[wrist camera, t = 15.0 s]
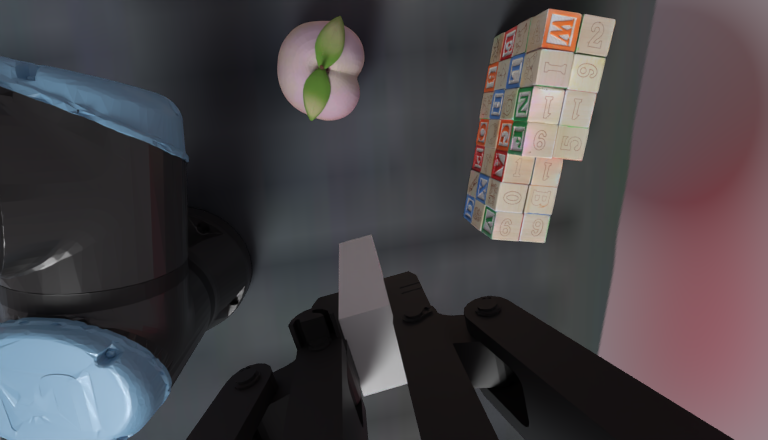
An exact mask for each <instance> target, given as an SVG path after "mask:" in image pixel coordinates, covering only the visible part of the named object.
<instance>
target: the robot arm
mask: <svg viewBox="0 0 768 440" xmlns="http://www.w3.org/2000/svg"><path fill="white" fill-rule="evenodd" d="M186 162H189V157H188V155H187V154H186V153H185V141H184V129H183V118H182V115H181V112H180V111H179V109H178V107H177V106H176V105H175V104H174V103H173V102H172V101H171V100H169V99H168V98H166V97H165V96H163V95H160V94H158V93H155V92H152V91H149V90H145V89H142V88H138V87H135V86H131V85H127V84H124V83H120V82H116V81H112V80H108V79H104V78H100V77H95V76H91V75H87V74H82V73H78V72H74V71H69V70H65V69H60V68H55V67H50V66H45V65H36V64H34V63H29V62H24V61H18V60H14V59H11V58H7V57H2V56H0V437H3V438H5V439H8V440H127V439H128V438H129V437H131V436H133V435H134V434H135V433H137V432H138V431H139V430H140V429H141V428H142V427H143V426H144V425H145V424H146V423H147V422H148V421H149V419H150V418H151V417H152V416H153V415H154V413H155V412H156V411H157V410H158V408H159V407H160V406H161V405H162V404H163V403H164V402H165V400H166V399H167V397H168V396H169V393H170V392H171V388H172V386H173V384H174V383H175V381H176V379H177V378H178V376H179V374H180V373H181V371H182V369H183V368H184V366H185V365H186V363H187V361H188V360H189V358H190V356H191V355H192V353H193V351H194V350H195V348H196V346H197V345H198V343H199V341H200V340H201V338H202V337H203V335H204V333H205V332H206V331H207V330H209V329H211V328H212V327H214V326H216V325H218V324H219V323H221V322H222V321H224V320H225V319H227V318H228V317H229V316H230V315H231V314H232V313H233V312H234V311H235V310H236V309H237V308H238V306H239V305H240V303H241V302H242V300H243V298H244V296H245V294H246V292H247V290H248V288H249V285H250V281H251V274H252V266H251V259H250V255H249V252H248V250H247V247H246V245H245V243H244V242H243V240H242V238H241V237H240V236H239V234H238V233H237V232H236V231H235V230H234V229H233V228H232V227H231V226H230V225H229V224H228V223H226V222H225V221H223V220H222V219H220V218H219V217H217V216H215V215H213V214H211V213H209V212H206V211H203V210H199V209H195V208H189V207H187V168H186ZM288 327H289V329H290V332H291V335H292V337H293V340H294V343H295V345H296V348H297V355H296V360H295V361H293V362H292V363H290V364H289V365H287V366H285V367H283V368H281V369H279V370H277V371H275V372H272V369H271V367H270V366H269V365H267V364H254V365H250V366H247V367H246V368H243V369H241V370H240V371H239V372H237V373H236V374H234V375H233V376H232V377H231V378H230V379H229V380H228V381H227V382H226V384H225V385H224V386H223V388H222V389H221V391H220V392H219V394H218V395H217V396H216V398H215V399H214V401H213V402H212V404H211V405H210V406H209V408H208V409H207V411H206V412H205V413H204V415H203V416H202V418H201V419H200V421H199V422H198V423H197V425H196V426H195V428H194V429H193V431H192V432H191V433H190V435H189V436H188V438H187V439H186V440H368V431H367V420H366V409H365V406H364V403H363V400H362V397H361V389H362V392H363V395H364V396H367V395H370V394H374V393H377V392H380V391H384V390H387V389H391V388H394V387H397V386H401V385H404V384H407V383H408V387H409V391H410V396H411V400H412V404H413V408H414V412H415V416H416V420H417V424H418V428H419V432H420V436H421V440H499V439H498V437H497V435H496V433H495V431H494V429H493V427H492V425H491V423H490V421H489V419H488V417H487V415H486V412H485V410H484V408H483V406H482V404H481V402H480V400H479V398H478V396H477V394H476V392H475V390H474V388H480V389H481V391H482V393H483V395H484V396H485V397H486V398H487V399H488V400H489V401H490V403H491V404H492V405H493V406H494V407H495V408H496V409H497V410H498V411H499V412H500V413H501V414H502V416H503V417H504V418H505V419H506V420H507V421H508V422H509V423H510V424H511V425H512V426H513V427H514V429H515V430H516V431H517V432H518V433H519V434H520V435H521V436H522V437H523V438H524V439H525V440H734V439H732V438H731V437H729V436H727V435H726V434H724V433H723V432H721V431H719V430H718V429H716V428H714V427H713V426H711V425H709V424H708V423H706V422H705V421H703V420H701V419H700V418H698V417H696V416H695V415H693V414H692V413H690V412H688V411H687V410H685V409H684V408H682V407H680V406H679V405H677V404H675V403H674V402H672V401H671V400H669V399H667V398H666V397H664V396H663V395H661V394H659V393H658V392H656V391H654V390H653V389H651V388H650V387H648V386H646V385H645V384H643V383H641V382H640V381H638V380H637V379H635V378H633V377H632V376H630V375H629V374H627V373H625V372H624V371H622V370H620V369H619V368H617V367H616V366H614V365H612V364H610V363H609V362H607V361H606V360H604V359H603V358H601V357H599V356H598V355H596V354H594V353H593V352H591V351H590V350H588V349H586V348H585V347H583V346H582V345H580V344H578V343H577V342H575V341H573V340H572V339H570V338H569V337H567V336H565V335H564V334H562V333H560V332H559V331H557V330H556V329H554V328H552V327H551V326H549V325H547V324H546V323H544V322H543V321H541V320H539V319H538V318H536V317H535V316H533V315H531V314H530V313H528V312H526V311H525V310H523V309H522V308H520V307H518V306H517V305H515V304H513V303H512V302H510V301H509V300H507V299H504V298H502V297H496V296H487V297H486V296H485V297H481V298H478V299H475V300H473V301H471V302H470V303H468V304H467V306H466V307H465V308H464V315H455V316H448V315H442V314H439V313H437V311H436V309H435V308H434V307H433V306H431V305H430V303H429V301H428V299H427V297H426V295H425V293H424V291H423V288H422V286H421V284H420V282H419V280H418V278H417V276H416V275H415V274H413V273H411V272H409V271H408V272H405V273H401V274H397V275H394V276H390V277H387V278H384V277H383V274H382V270H381V267H380V263H379V259H378V256H377V252H376V249H375V245H374V242H373V238H372V235H368V236H364V237H361V238H357V239H354V240H350V241H347V242H343V243H339V292H338V293H334V294H331V295H327V296H324V297H320V298H318V299H317V301H316V302H315V303H314V305H313V306H312V308H311V309H309V310H306V311H304V312H302V313H300V314H299V315H297V316H296V317H295V318H294V319H293V320H291V322H290V324H289V326H288ZM360 386H361V389H360Z"/></svg>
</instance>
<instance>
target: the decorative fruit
mask: <svg viewBox="0 0 768 440" xmlns="http://www.w3.org/2000/svg"><path fill="white" fill-rule="evenodd" d="M364 58H365V56H364V49H363V45H362V43H361V41H360V39H359V38H358V36H357V35H356V34H355V33H354V32H353V31H352V30H351V29H349V28H348V27H346V26H344V23H343V20H342V17H341V16H338V17H336V18H334V19H332V20H331V21H313V22H307V23H304V24H301V25H299V26H297V27H296V28H294V29H293V30H292V31H291V32H290V33H289V34H288V35H287V37H286V38H285V40H284V41H283V43H282V45H281V48H280V51H279V55H278V65H277V75H278V80H279V84H280V87H281V90H282V92H283V94H284V96H285V97H286V99H287V100H288V101H289V102H290V104H291V105H293V106H294V107H295V108H296V109H298V110H299V111H301V112H303V113H305V114H307V115H308V117H309V119H310V120H311V121H312V120H314V119H315V118H318V119H322V120H337V119H341V118H343V117H345V116H347V115H348V114H350V113H351V112H352V110H353V109H354V108H355V106H356V105H357V103H358V100H359V97H360V88H359V84H358V81H357V77H358V75H359V73H360V72H361V70H362V67H363V65H364Z"/></svg>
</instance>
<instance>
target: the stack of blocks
mask: <svg viewBox="0 0 768 440" xmlns="http://www.w3.org/2000/svg"><path fill="white" fill-rule="evenodd" d="M614 26H615V19H610V18H604V17H599V16H593V15H588V14H584V15H582V14H580V13H575V12H569V11H563V10H556V9H547V10H545V11H544V12H542V13H540V14H538V15H536V16H535V17H531V18H529V19H528V20H526V21H524V22H522V23H520V24H518V25H517V26H515V27H513V28H512V29H510V30H508V31H507V32H504V33H502V34H500V35H498V36H496V37H495V38H494V43H493V49H492V54H491V60H490V65H489V67H488V73H487V78H486V84H485V90H484V95H483V100H482V106H481V112H480V123H479V130H478V135H477V141H476V149H475V155H474V161H473V166H472V170H471V173H470V179H469V185H468V191H467V198H466V203H465V209H464V218H465V219H467V220H468V221H469V222H470V223H472V225H473V226H474V227H476V228H477V229H478V230H479V231H482V232H483V233H484V234H485V235H487V236H488V237H489V238H491V239H495V240H509V241H527V242H541V243H545V241H546V236H547V231H548V226H549V222H550V215H551V214H552V210H553V206H554V201H555V197H556V192H557V187H558V184H559V180H560V175H561V170H562V165H563V159H567V160H577V161H582V159H583V155H584V150H585V146H586V141H587V137H588V133H589V125H590V122H591V118H592V113H593V108H594V104H595V100H596V94H597V93H598V90H599V86H600V81H601V77H602V73H603V69H604V64H605V57H606V56H607V54H608V50H609V46H610V42H611V38H612V34H613V30H614Z"/></svg>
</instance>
